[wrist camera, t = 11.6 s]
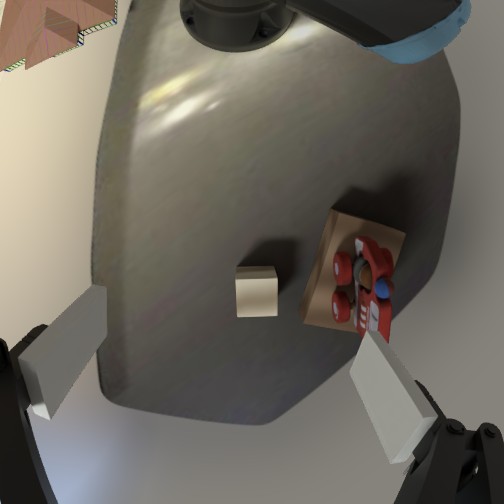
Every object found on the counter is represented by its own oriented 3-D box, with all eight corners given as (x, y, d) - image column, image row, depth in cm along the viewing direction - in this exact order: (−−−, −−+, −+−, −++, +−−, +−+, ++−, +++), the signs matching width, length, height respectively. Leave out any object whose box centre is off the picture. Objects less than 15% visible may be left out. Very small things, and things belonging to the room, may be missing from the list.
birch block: (236, 266, 42) (235, 279, 37) (273, 265, 42) (277, 278, 37) (237, 300, 43) (237, 317, 39) (273, 299, 44) (277, 315, 39)
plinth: (330, 208, 40) (339, 212, 36) (392, 227, 41) (405, 233, 37) (298, 310, 44) (303, 323, 40) (359, 321, 45) (368, 334, 41)
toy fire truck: (382, 230, 37) (424, 251, 27) (376, 318, 40) (409, 358, 30) (331, 233, 37) (362, 257, 27) (329, 324, 40) (353, 369, 30)
